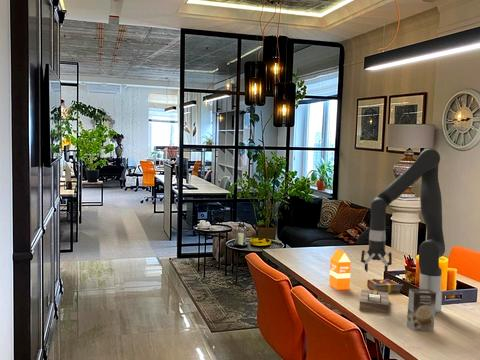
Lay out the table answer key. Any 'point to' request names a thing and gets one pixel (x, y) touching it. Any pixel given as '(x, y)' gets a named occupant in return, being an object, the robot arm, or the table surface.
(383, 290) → the decorative book
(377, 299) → the tile
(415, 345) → the table surface
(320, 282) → the table surface
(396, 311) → the table surface
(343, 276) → the orange juice
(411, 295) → the coffee box
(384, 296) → the pocket block
